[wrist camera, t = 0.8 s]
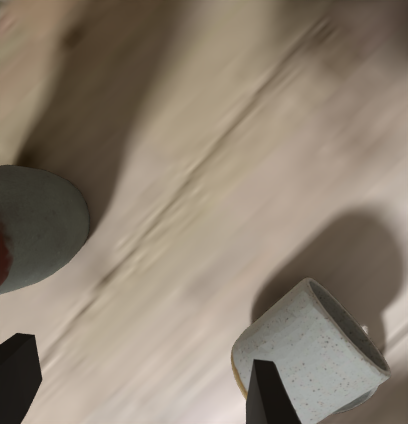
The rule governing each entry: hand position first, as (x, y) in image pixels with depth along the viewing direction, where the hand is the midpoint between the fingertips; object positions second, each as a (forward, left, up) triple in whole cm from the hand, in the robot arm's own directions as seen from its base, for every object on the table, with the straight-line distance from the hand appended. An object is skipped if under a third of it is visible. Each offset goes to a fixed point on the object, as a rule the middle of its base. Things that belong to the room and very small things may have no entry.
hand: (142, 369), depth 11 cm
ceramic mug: (-6, -9, -17) cm, 20 cm away
